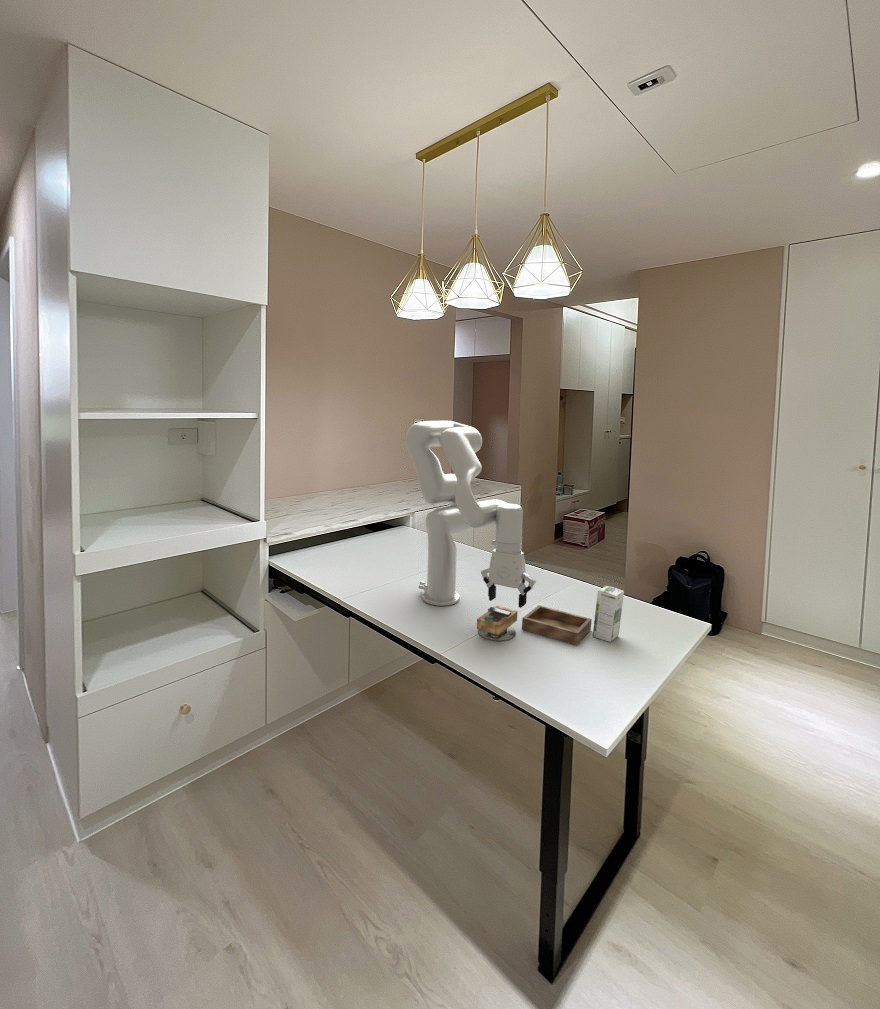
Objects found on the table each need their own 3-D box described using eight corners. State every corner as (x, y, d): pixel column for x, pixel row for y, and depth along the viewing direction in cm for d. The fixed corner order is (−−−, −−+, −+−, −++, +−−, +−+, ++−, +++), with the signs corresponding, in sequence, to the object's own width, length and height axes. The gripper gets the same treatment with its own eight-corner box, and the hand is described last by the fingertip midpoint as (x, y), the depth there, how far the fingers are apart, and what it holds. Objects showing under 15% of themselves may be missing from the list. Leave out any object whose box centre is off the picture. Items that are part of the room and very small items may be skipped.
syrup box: (600, 630, 160) (604, 584, 157) (619, 636, 157) (624, 590, 154) (592, 636, 156) (596, 590, 153) (611, 643, 152) (617, 595, 149)
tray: (521, 629, 159) (522, 617, 159) (537, 615, 169) (538, 605, 169) (576, 645, 150) (578, 633, 150) (590, 630, 160) (591, 619, 159)
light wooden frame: (476, 628, 153) (477, 613, 152) (496, 614, 163) (496, 600, 162) (498, 635, 150) (499, 620, 149) (517, 620, 159) (517, 606, 158)
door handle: (471, 634, 155) (472, 611, 154) (489, 621, 164) (490, 599, 163) (505, 644, 149) (506, 621, 148) (521, 630, 158) (523, 608, 157)
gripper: (476, 545, 156) (475, 600, 159) (530, 554, 147) (528, 613, 150) (488, 539, 162) (487, 593, 165) (541, 548, 153) (539, 605, 156)
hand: (506, 602), depth 158 cm, fingers open, 9 cm apart
